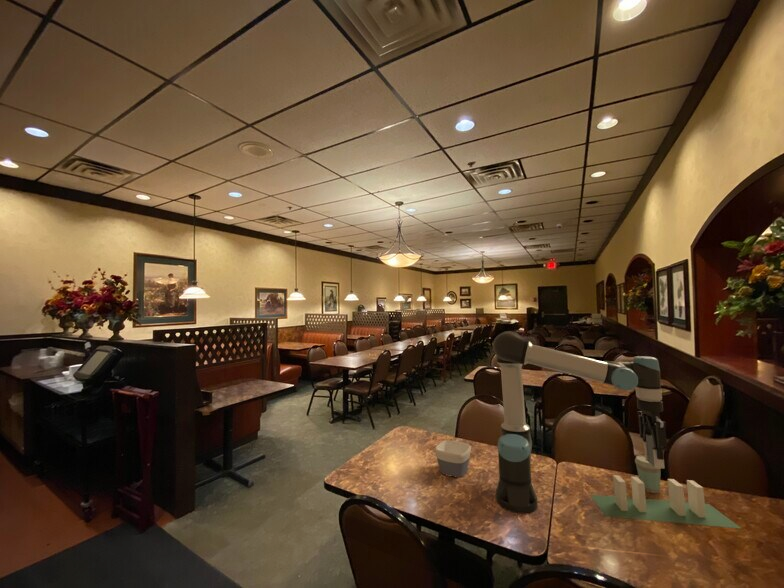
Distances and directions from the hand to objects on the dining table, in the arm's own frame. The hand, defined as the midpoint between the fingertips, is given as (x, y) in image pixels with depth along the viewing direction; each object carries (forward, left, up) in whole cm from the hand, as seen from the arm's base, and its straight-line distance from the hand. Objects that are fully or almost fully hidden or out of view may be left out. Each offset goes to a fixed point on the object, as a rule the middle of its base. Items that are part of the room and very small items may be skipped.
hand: (654, 464), depth 116 cm
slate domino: (0, 0, 0) cm, 0 cm away
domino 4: (+12, 0, -16) cm, 20 cm away
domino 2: (-6, 0, -16) cm, 17 cm away
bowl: (-73, +19, -17) cm, 77 cm away
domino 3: (+6, 0, -16) cm, 17 cm away
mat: (0, 0, -16) cm, 16 cm away
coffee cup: (+5, +15, -17) cm, 23 cm away
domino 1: (-12, 0, -16) cm, 20 cm away
